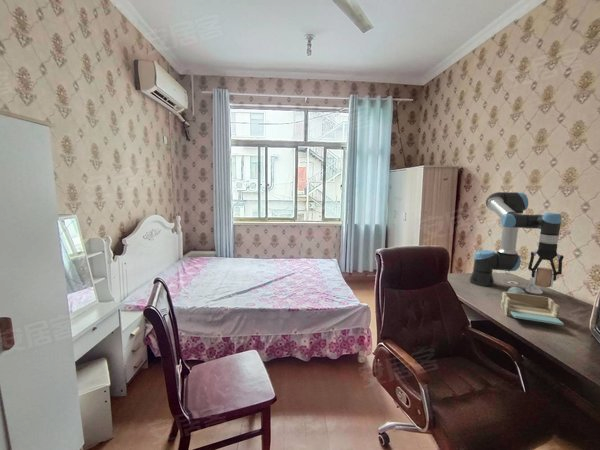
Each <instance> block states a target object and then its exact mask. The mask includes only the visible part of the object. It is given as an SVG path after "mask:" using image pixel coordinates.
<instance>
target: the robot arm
mask: <svg viewBox="0 0 600 450" xmlns="http://www.w3.org/2000/svg"><path fill="white" fill-rule="evenodd" d="M485 206H486V207H487V208H488V209H489V210H490V211H492V212H494V213H495V214H496V215H497V216H498V217H500V223H501V226H502V232H501V239H500V248H499V249H497V251H496V252H495V251H494V250H488V249H481V250H477V251H476V252H475V253H474V258H473V259H474V261H473V269H472V272H471V275H470V277H469V280H468V281H469V282H470V283H471V284H473V285H475V286H480V287H481V286H482V287H494V286H495V278H494V276H493V272H494V271H504V272H505V271H506V272H515V271H518V270H519V268H520V266H521V263H522V260H521V256H520V255H519V254H518V253H519V252H518V251H517V250H516V247H517V239H518V233H519V229H538V230H540V234H539V242H538V248H537V250H536V251H530V258H529V263H528V270H529V271H531V278H532V277H534V280H533V284H535V282H536V274H537V268H538V267H540V266H539V265H540V264H541V263H542V261H543V260H545V261H548V262H550V265H551V269H552V270H553V271H552V277H551V284H550V287H551V288H552V287H553V284H554V281H557V276H558V275H562V273H563V260H564V258H565V256H564V255H563V254H559V253H558V243H559V236H560V230H561V224H562V215H561V213H554V212H545V213H543V214H524V211H526V210H528V208H529V198H528V197H527V195H526V193H524V192H518V191H515V192H513V191H512V192H509V191H505V192H502V191H497V192H494V193H491V194H490V195H489V196H488V197H487V198H486V200H485ZM536 255H538V259H537V260H536V262H535V264H534V265H533V263H534V259H535V256H536ZM554 258H557V259H558V260H557V261H558V262H557V263H558V264H557V267H558V268H557V269H556V266H555V262H554ZM550 287H549V288H550Z"/></svg>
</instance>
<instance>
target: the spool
mask: <svg viewBox="0 0 600 450" xmlns="http://www.w3.org/2000/svg"><path fill="white" fill-rule="evenodd" d="M507 292H511V293H519V294H527V293H526V291H525V290H524V289H522V288H520V287H518V286H512V287H510V288H508V290H507Z"/></svg>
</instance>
